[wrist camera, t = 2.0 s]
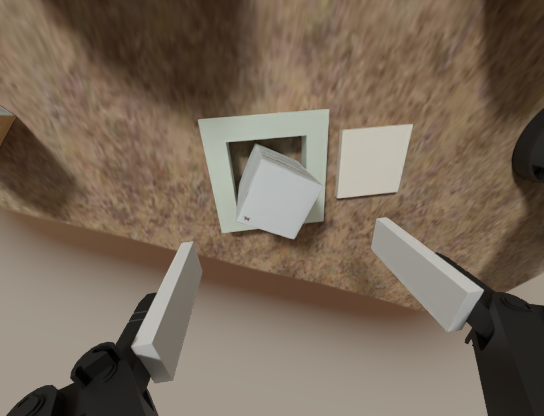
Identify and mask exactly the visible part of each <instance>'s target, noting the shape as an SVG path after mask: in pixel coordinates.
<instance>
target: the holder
mask: <svg viewBox="0 0 544 416" xmlns="http://www.w3.org/2000/svg"><path fill="white" fill-rule="evenodd" d="M198 123H199V128H200V133H201V137H202V142H203V147H204V151H205V156H206V160H207V165H208V170H209V174H210V179H211V184H212V188H213V193H214V198H215V202H216V207H217V211H218V216H219V221H220V225H221V230H222V233H227V232H235V231H244V230H252V229H258V228H255V227H252V226H249V225H246V224H242V223H239V222H236V211H237V202H238V199H237V193H236V187H235V181H234V174H233V168H232V162H231V156H230V149H229V143H228V142H235V141H246V140H258V139H269V138H281V137H292V136H301V153H302V166H303V167H304V168H305V169H306V170H307V171H308V172H309V173H310V174H311V175H312V176H313V177H315V178H316V179H317V180H318V181H319V182H320V183H321V184H322V185H323V186H324V187H323V189H322V190H321V192H320V194H319V196H318V198H317V199H316V201H315V203H314V205H313V207H312V208H311V210H310V212H309V214H308V216H307V217H306V219H305V221H304V223H312V222H321V221H323V220H324V201H325V182H326V162H327V143H328V124H329V109H321V110H308V111H296V112H283V113H270V114H258V115H245V116H232V117H220V118H207V119H198ZM304 223H303V224H304Z"/></svg>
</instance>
